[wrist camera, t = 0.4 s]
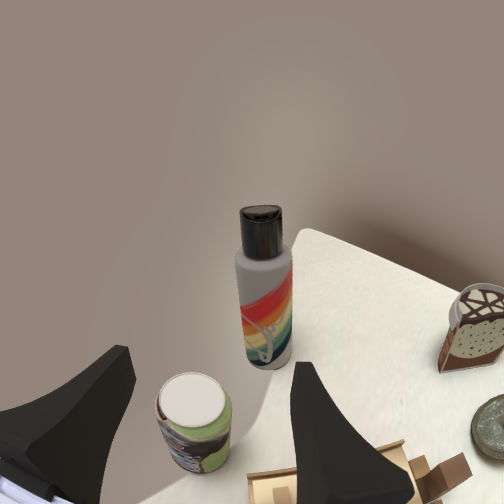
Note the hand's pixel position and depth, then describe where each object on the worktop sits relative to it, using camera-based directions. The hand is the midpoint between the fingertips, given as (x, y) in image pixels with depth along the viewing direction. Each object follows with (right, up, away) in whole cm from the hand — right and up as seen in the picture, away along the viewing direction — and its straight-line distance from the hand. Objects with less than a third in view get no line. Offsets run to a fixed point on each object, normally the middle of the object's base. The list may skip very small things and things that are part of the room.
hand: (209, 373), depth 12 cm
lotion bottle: (+4, -8, +26) cm, 28 cm away
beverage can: (-3, -16, +15) cm, 22 cm away
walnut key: (+19, -18, +7) cm, 27 cm away
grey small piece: (+31, -16, +10) cm, 36 cm away
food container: (+30, -9, +22) cm, 38 cm away
